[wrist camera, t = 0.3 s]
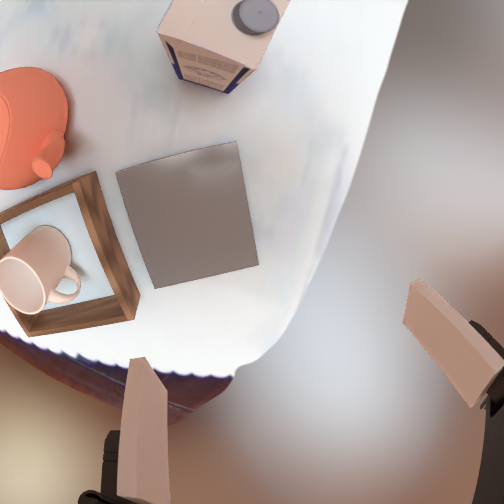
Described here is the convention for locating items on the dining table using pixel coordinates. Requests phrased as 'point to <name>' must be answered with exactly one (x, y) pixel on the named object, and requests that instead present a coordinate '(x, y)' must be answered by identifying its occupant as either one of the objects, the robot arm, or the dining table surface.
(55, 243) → the mug
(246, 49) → the milk carton
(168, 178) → the slate trivet
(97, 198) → the walnut caddy
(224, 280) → the dining table surface
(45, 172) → the teapot
